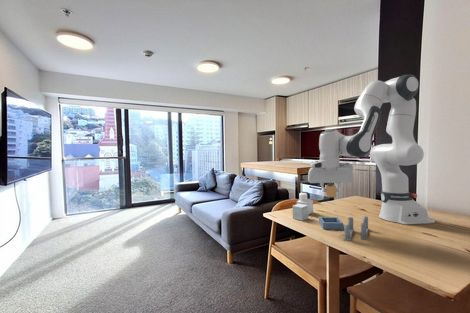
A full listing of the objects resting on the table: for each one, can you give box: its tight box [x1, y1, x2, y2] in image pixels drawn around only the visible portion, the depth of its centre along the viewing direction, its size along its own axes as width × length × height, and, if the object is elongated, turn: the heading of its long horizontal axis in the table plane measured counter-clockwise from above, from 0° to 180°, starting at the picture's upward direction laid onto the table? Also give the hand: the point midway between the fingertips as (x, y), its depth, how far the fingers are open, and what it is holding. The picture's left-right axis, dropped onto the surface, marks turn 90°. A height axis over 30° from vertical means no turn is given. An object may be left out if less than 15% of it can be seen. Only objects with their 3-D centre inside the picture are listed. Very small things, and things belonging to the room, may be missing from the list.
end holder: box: [318, 216, 344, 231], centre depth 107 cm, size 9×9×3 cm
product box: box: [292, 203, 309, 222], centre depth 120 cm, size 6×6×7 cm
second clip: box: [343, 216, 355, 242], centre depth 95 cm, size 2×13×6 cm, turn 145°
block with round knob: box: [324, 183, 337, 198], centre depth 106 cm, size 4×4×6 cm
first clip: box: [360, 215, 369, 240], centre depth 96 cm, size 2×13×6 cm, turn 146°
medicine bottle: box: [296, 191, 314, 216], centre depth 130 cm, size 7×7×12 cm
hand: (330, 191), depth 106 cm, fingers closed on block with round knob, 4 cm apart
